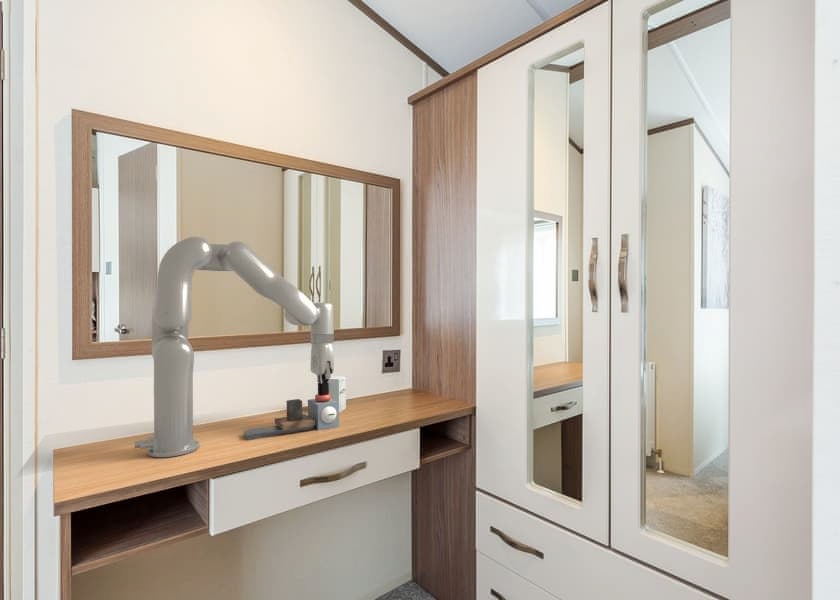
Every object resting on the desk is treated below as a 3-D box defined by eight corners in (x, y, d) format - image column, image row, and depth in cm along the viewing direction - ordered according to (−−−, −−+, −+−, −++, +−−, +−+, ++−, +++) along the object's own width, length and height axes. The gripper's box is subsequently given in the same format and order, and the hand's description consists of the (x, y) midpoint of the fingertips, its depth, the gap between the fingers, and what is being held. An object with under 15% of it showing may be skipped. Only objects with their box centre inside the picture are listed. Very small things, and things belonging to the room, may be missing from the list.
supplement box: (339, 413, 164) (339, 379, 164) (320, 412, 165) (320, 378, 166) (346, 409, 171) (346, 375, 171) (328, 408, 173) (328, 375, 173)
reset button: (318, 401, 145) (318, 397, 145) (313, 399, 149) (313, 394, 149) (332, 399, 148) (332, 395, 148) (327, 397, 152) (327, 392, 152)
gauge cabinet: (318, 430, 142) (318, 405, 142) (307, 423, 151) (307, 399, 151) (339, 427, 146) (339, 402, 146) (327, 420, 154) (327, 397, 154)
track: (247, 440, 133) (247, 435, 133) (243, 435, 138) (243, 430, 138) (313, 429, 143) (313, 424, 143) (306, 425, 148) (306, 420, 148)
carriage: (283, 430, 136) (283, 405, 136) (274, 423, 145) (274, 399, 145) (315, 425, 142) (314, 401, 142) (304, 418, 150) (304, 396, 150)
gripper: (304, 339, 153) (305, 392, 153) (319, 341, 140) (320, 400, 140) (325, 337, 157) (326, 390, 157) (341, 340, 144) (342, 397, 144)
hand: (323, 394), depth 149 cm, fingers closed
